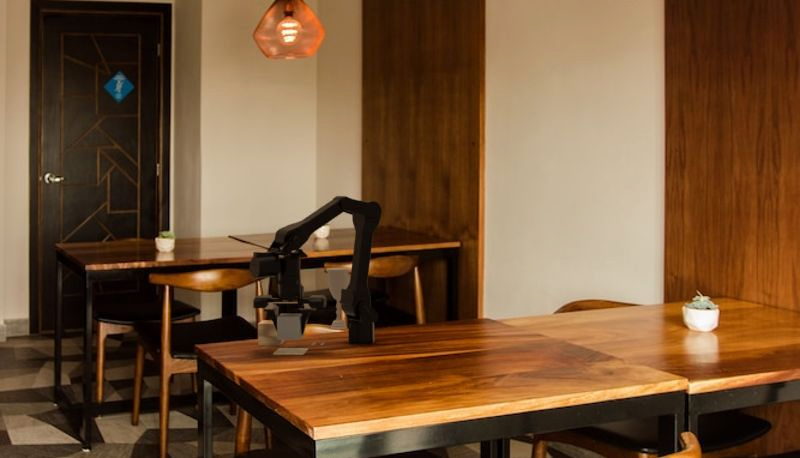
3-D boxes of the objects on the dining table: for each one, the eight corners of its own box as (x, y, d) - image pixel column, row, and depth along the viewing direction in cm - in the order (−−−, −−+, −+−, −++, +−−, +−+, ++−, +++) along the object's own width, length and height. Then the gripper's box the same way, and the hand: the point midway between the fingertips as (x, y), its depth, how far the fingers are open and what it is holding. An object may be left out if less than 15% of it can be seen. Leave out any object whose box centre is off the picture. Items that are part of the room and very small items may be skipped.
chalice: (352, 326, 308) (351, 267, 306) (349, 330, 301) (348, 270, 300) (328, 326, 308) (327, 267, 307) (324, 329, 302) (323, 270, 300)
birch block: (284, 341, 282) (283, 320, 281) (280, 345, 276) (279, 323, 275) (263, 341, 282) (262, 320, 282) (258, 345, 276) (257, 323, 276)
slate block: (304, 335, 270) (303, 313, 270) (300, 339, 264) (299, 317, 264) (281, 335, 271) (281, 313, 270) (277, 339, 265) (276, 317, 264)
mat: (308, 349, 271) (308, 348, 271) (303, 355, 263) (303, 354, 263) (278, 349, 272) (278, 348, 272) (272, 355, 264) (272, 353, 264)
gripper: (329, 271, 273) (330, 328, 274) (261, 271, 275) (262, 328, 276) (322, 276, 262) (323, 336, 263) (252, 277, 264) (253, 336, 265)
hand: (290, 334), depth 267 cm, fingers closed on slate block, 6 cm apart
